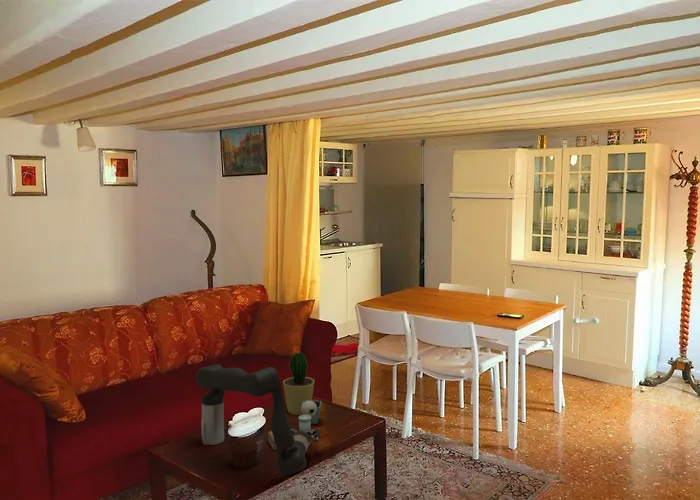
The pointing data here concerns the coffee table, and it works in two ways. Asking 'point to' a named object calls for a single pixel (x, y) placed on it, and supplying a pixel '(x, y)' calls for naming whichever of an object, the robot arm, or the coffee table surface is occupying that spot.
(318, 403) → the flower pot
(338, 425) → the coffee table surface
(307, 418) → the vase
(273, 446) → the plinth
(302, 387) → the potted cactus
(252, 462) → the muffin
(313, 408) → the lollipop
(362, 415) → the coffee table surface
